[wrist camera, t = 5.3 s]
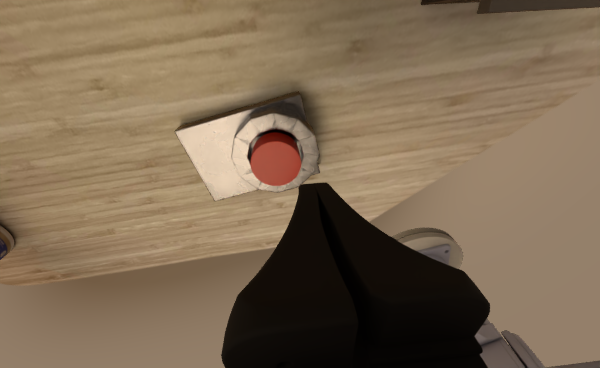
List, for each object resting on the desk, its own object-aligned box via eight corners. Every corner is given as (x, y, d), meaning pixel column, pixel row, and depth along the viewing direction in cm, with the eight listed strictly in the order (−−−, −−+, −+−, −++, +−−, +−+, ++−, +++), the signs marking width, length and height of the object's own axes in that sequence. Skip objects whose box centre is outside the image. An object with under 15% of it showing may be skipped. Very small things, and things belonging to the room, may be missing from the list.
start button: (292, 126, 17) (293, 134, 16) (304, 167, 19) (306, 179, 18) (245, 139, 18) (242, 149, 16) (261, 179, 20) (260, 191, 18)
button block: (302, 89, 19) (306, 98, 16) (320, 165, 22) (326, 182, 20) (179, 125, 19) (165, 139, 17) (217, 193, 23) (210, 213, 21)
